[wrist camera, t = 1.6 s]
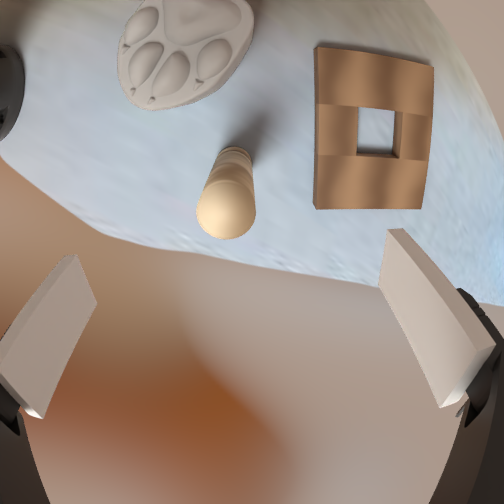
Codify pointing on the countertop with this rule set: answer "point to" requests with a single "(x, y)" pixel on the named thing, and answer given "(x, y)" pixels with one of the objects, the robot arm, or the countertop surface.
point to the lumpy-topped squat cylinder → (182, 50)
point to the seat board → (346, 122)
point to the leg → (228, 196)
